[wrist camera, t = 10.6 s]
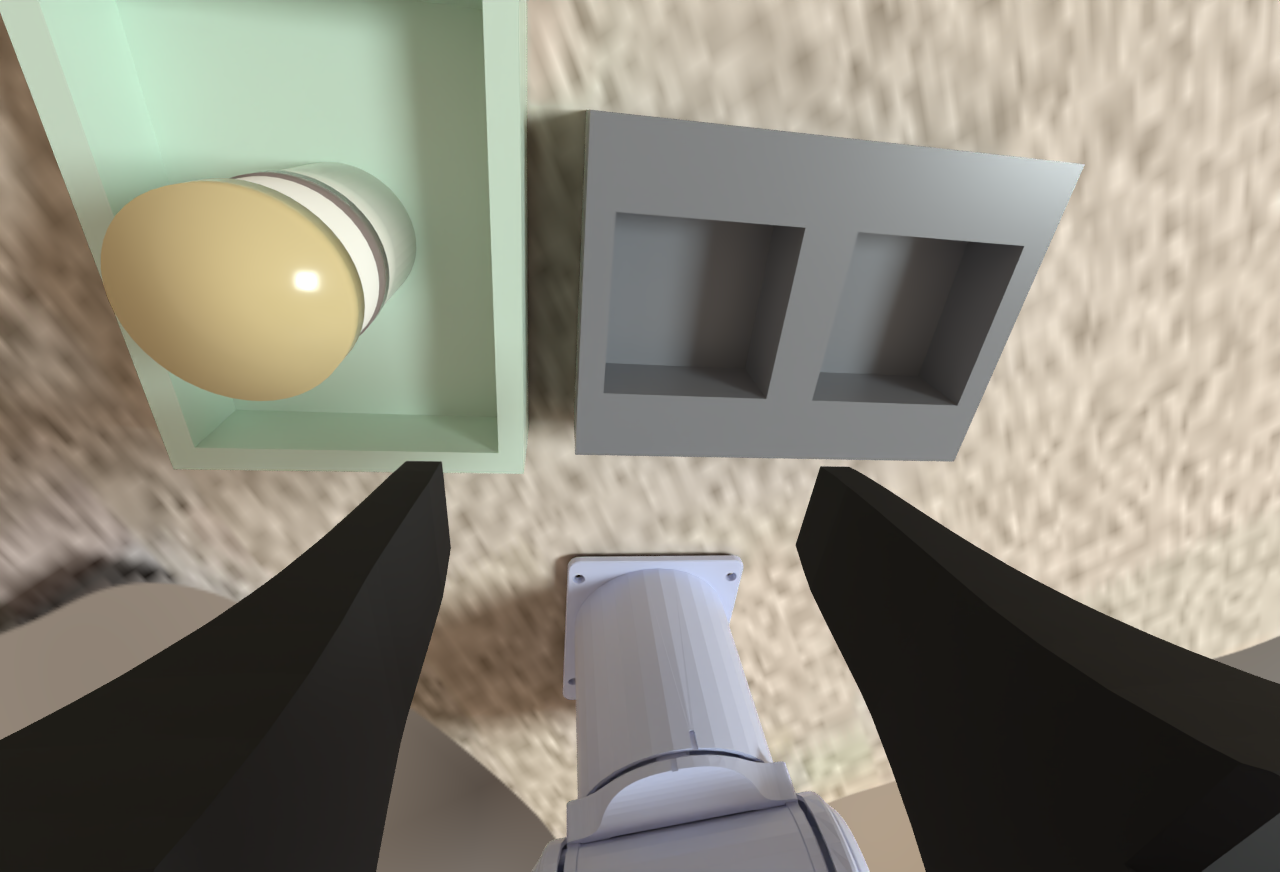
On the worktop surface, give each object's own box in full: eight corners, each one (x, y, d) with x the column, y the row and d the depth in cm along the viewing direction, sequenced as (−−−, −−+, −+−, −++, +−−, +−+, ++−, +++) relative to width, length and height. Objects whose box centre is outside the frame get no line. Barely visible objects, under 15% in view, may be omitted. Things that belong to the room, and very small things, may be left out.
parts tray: (528, 429, 21) (523, 473, 19) (224, 422, 20) (173, 469, 17) (526, -21, 15) (518, -48, 12) (66, -86, 13) (-55, -134, 11)
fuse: (426, 307, 18) (365, 402, 12) (285, 302, 17) (146, 399, 11) (411, 164, 16) (329, 192, 10) (250, 151, 15) (59, 174, 9)
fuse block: (910, 422, 23) (953, 461, 21) (573, 412, 21) (575, 454, 19) (1012, 156, 18) (1084, 164, 16) (586, 110, 16) (590, 109, 14)
